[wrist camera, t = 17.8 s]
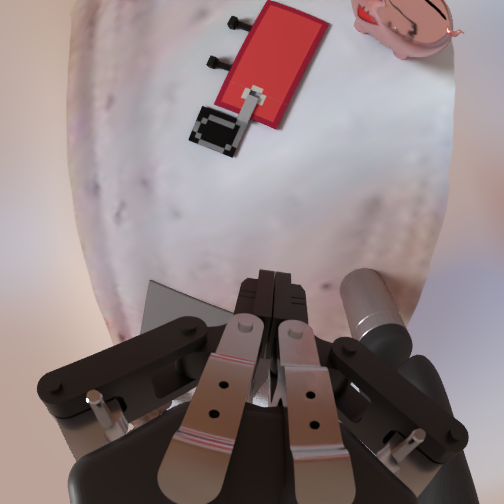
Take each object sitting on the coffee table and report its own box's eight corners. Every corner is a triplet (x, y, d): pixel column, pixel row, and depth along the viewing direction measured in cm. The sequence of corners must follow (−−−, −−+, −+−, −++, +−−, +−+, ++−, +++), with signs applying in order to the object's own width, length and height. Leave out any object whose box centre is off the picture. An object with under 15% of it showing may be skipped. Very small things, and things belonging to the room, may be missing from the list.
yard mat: (295, 334, 62) (295, 336, 61) (252, 396, 74) (251, 398, 74) (150, 279, 59) (149, 280, 59) (138, 354, 72) (137, 355, 71)
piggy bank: (358, -25, 28) (380, -66, 13) (437, 29, 30) (482, 9, 16) (323, 23, 34) (340, -16, 20) (409, 80, 36) (456, 68, 22)
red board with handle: (180, 136, 46) (257, 167, 47) (175, 137, 43) (256, 170, 45) (248, -4, 33) (327, 25, 35) (246, -10, 31) (330, 20, 32)
